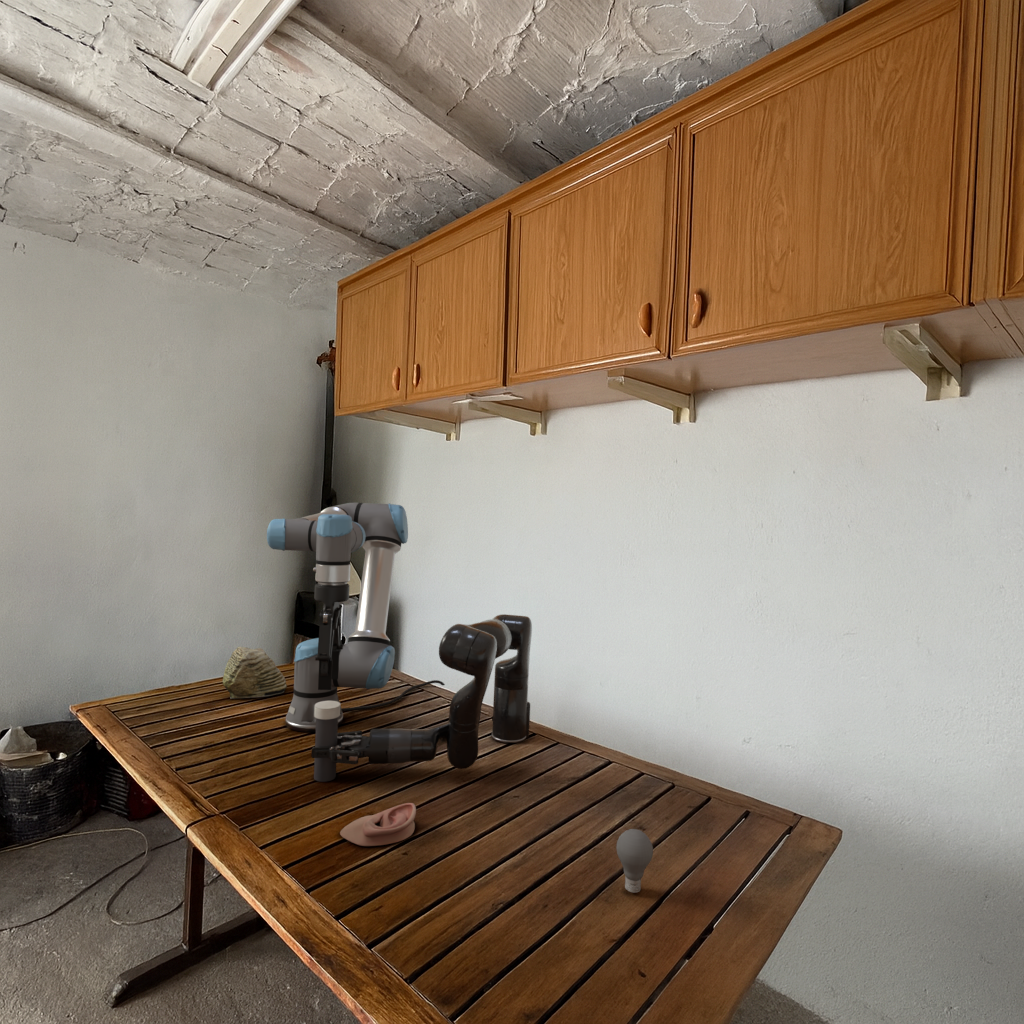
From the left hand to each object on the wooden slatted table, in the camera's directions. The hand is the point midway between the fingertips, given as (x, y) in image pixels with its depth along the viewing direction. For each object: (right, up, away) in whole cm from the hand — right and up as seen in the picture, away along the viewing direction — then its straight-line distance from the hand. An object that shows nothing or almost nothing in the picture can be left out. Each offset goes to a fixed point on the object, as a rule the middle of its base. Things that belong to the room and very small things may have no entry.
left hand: (328, 683), depth 143 cm
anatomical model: (+16, -22, -22) cm, 35 cm away
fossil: (-39, -19, +55) cm, 70 cm away
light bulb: (+62, -25, -37) cm, 76 cm away
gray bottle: (-1, -21, 0) cm, 21 cm away
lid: (0, -5, 0) cm, 5 cm away
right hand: (-3, -14, 0) cm, 15 cm away
